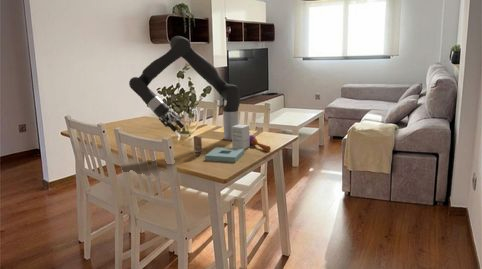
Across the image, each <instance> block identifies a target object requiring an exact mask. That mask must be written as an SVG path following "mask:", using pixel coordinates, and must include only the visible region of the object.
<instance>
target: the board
mask: <svg viewBox="0 0 482 269" xmlns="http://www.w3.org/2000/svg"><path fill="white" fill-rule="evenodd" d="M243 155H245V149H236V148H232V147H214V148H213V149H211V150H210V151H209V152H208V153H207V154H205V155H204V160H205V161H211V162H212V161H213V162H228V163H237V162H238V160H240V159H241V157H243Z"/></svg>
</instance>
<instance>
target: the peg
mask: <svg viewBox="0 0 482 269" xmlns="http://www.w3.org/2000/svg"><path fill="white" fill-rule="evenodd" d="M202 145H203V144H202V136H201V135H195V136H193V148H194V150H193V151H194V154H195V155H196V156H197V157H201V156H202V152H203V146H202ZM200 155H201V156H200ZM196 156H195V157H196Z"/></svg>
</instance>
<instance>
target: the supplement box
mask: <svg viewBox="0 0 482 269" xmlns="http://www.w3.org/2000/svg"><path fill="white" fill-rule="evenodd" d="M250 134H251V133H250V125H248V124H241V123H239V124H238V125H235V126H232V140H231V141H232V142H231V143H232V144H231V146H232V147H231V148H236V149H244V150H246V149H248V148H250V147H251V146H250Z"/></svg>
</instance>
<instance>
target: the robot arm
mask: <svg viewBox="0 0 482 269" xmlns="http://www.w3.org/2000/svg"><path fill="white" fill-rule="evenodd" d="M169 42H170V43H169V45H170V49H169V50H168V51H167V52H166V53H164V55H163V54H162V56H160V57H158V58H156V59H155V60H154V61H152V62H151V63H150V64H149V65H147V66H146V67H145V68H144V69H143V70H142V73H141V75H139V77H137V76H135V77H134V76H133V77H131V78H130V80H129V81H128V82H129V84H128V85H129V88H130V89H131V90H132V91H134V93H135V94H136V95H137V96H139V97H140V99H141V100H142V101H143V103H145V104H146V105H147V107H148V108H149V109H150V111H151V112H152V113H154V114H155V115H156V116H157V117H158V120H159V122H161V123H162V124H163V125H164V127H166V128H170V129H171V130H172V131H173V133H176V131H178V128H177V127H179V128H180V129H183V128H184V127H185V125H184V124H183V123H182V121H181V118H180V117H179V116H178V114H176V112H175V111H171V112H170V107H169V105H167V104H166V103H165V102H164V101H163V100H162V99H161V98H160V97H159V96H158V95H157V94H156V93H155V92H154V91H153V90H152V89H151V88H149V85H151V82H152V81H153V80H154V79H155V78H156V77H158V76H159V75H160V74H161V73H162V72H163V71H165V69H167V68H168V67H169V66H170V65H172V64H173V63H174V62H176V61H177V60H179V59H181V58H182V59H184V60H185V62H187V63H188V64H189V66H190V67H191V68H192V69H193V70H194V71H195V72H196V74H198V75H199V76H200V77H201V78H202V79H203V80H205V82H206V83H208V84H209V85H210V86H212V87H213V89H215V90H216V92H217V93H218V94H219V95H220V96H221V98H223V99H224V100H226V104H225V105H224V106H223V107H222V112H223V113H222V118H223V138H224V139H223V140H227V141H232V126H235V125H238V124H240V121H239V120H240V119H239V108H240V103H241V102H240V98H241V96H240V95H241V94H240V88H239V87H238V85H236V84H229V83H228V82H226V81H225V80H224V79H223V78H221V76H220V75H219V73H218V72H219V71H218V70H217V68H216V67H215V66H214V65H213V64H212V63H211V62H210V61H209V60H208V59H206V58H205V57H204V56H202V55H201V54H199V53H198V52H197V51H195V50H194V49H193V47H192V46H191V41H189V39H188V38H185V37H184V36H181V35H175V36H173V37H172V38H171V39H170V41H169ZM173 123H175V124H176V125H177V127H176V126H175V125H174V124H173Z"/></svg>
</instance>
